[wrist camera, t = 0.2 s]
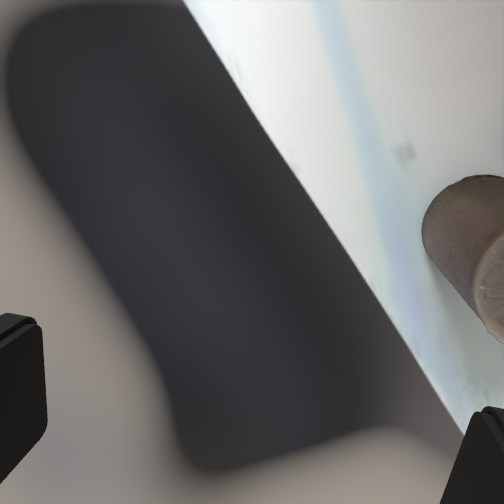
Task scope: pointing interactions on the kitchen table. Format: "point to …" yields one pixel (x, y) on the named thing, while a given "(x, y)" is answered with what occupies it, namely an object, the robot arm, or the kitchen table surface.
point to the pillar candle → (471, 244)
